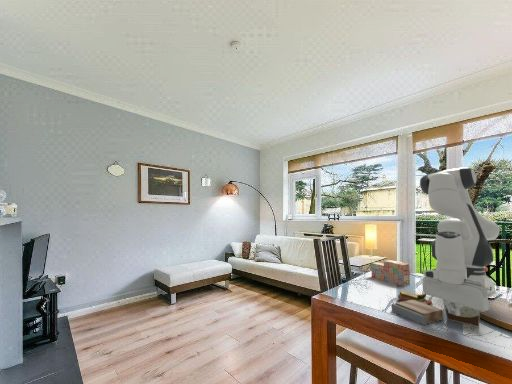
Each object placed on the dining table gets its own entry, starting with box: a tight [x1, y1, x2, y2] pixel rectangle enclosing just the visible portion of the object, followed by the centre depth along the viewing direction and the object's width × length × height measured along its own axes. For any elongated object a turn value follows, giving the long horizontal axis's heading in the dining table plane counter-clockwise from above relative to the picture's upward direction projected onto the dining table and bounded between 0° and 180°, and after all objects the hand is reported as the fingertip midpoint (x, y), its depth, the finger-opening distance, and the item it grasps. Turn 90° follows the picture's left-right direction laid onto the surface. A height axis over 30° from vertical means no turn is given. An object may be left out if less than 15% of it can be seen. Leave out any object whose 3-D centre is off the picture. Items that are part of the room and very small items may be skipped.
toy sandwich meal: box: [397, 289, 434, 306], centre depth 113 cm, size 12×14×5 cm
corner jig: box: [391, 300, 428, 326], centre depth 100 cm, size 12×14×3 cm
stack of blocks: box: [370, 259, 411, 287], centre depth 150 cm, size 21×6×12 cm, turn 27°
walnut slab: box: [395, 300, 444, 324], centre depth 100 cm, size 11×12×4 cm
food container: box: [443, 302, 481, 328], centre depth 95 cm, size 12×6×10 cm, turn 48°
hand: (454, 314), depth 89 cm, fingers closed
